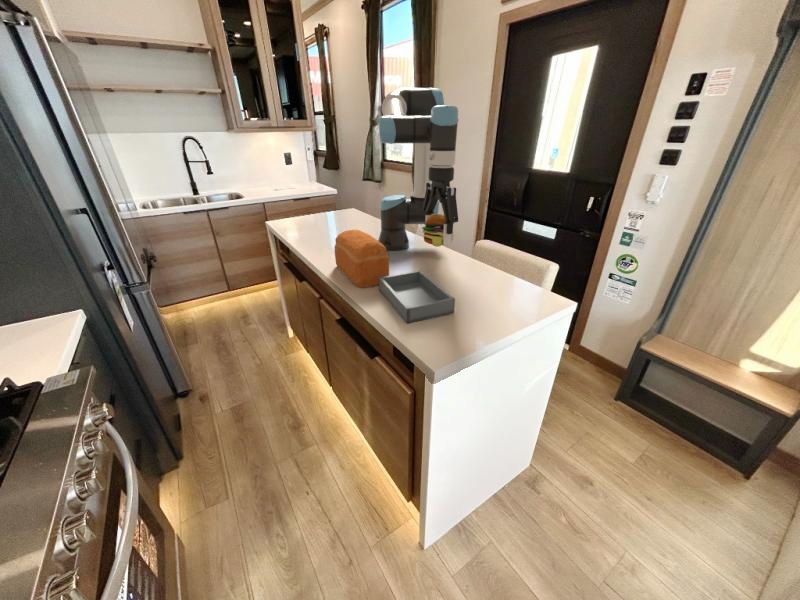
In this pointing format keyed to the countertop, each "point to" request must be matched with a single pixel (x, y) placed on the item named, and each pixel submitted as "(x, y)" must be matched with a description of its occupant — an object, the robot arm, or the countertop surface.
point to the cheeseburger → (434, 230)
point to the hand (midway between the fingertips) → (437, 238)
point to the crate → (416, 296)
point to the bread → (361, 258)
